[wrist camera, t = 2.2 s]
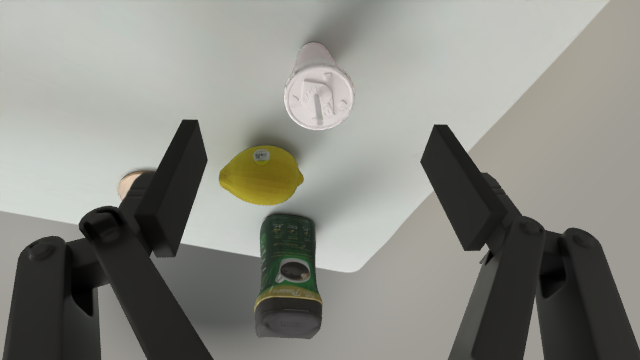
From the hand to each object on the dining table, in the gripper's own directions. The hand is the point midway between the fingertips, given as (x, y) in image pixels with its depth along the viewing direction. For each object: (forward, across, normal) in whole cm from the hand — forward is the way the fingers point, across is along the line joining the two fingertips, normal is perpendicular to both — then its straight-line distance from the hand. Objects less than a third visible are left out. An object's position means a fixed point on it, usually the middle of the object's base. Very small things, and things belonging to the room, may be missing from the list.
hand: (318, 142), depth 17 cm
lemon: (+20, -5, -17) cm, 27 cm away
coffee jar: (+20, -2, -33) cm, 39 cm away
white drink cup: (+20, +1, -3) cm, 20 cm away
